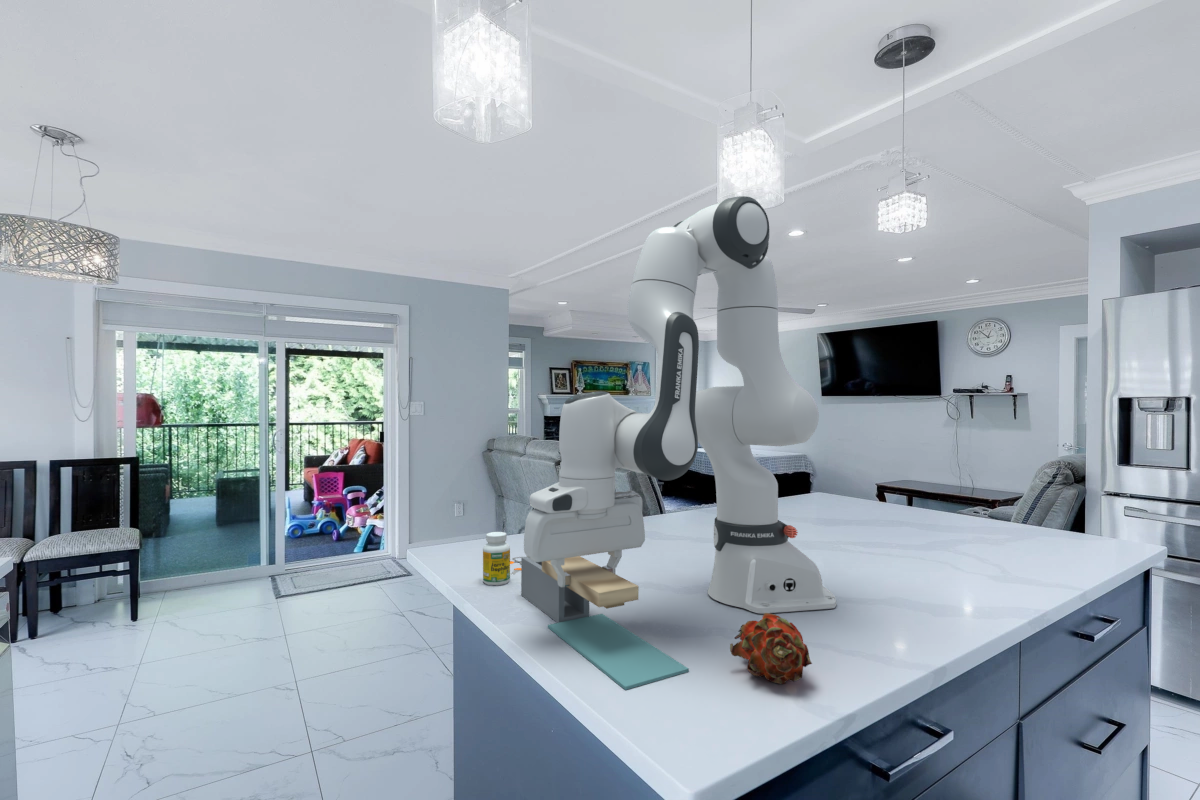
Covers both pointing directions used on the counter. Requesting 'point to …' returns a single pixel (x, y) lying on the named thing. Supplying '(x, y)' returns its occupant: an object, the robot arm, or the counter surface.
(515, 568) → the key chain
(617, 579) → the oak lid
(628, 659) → the teal mat
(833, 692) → the counter surface
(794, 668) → the dragon fruit
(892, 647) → the counter surface
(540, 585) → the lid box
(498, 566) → the supplement bottle
